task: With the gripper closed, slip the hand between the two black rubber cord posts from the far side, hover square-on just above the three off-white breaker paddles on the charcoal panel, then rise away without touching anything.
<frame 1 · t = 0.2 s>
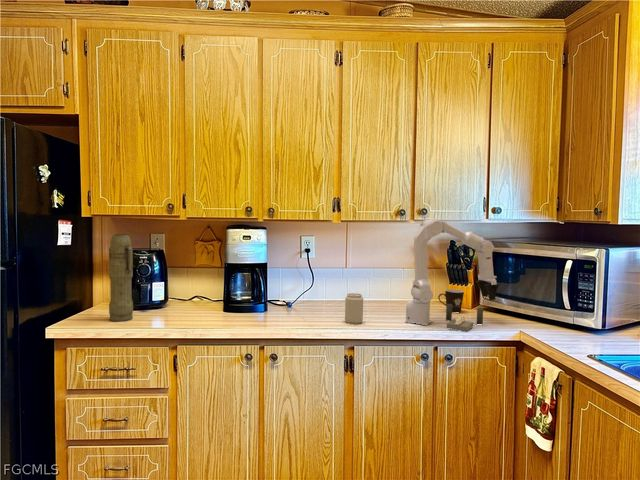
hand: (488, 298, 191), 10 cm above the worktop, tool pointing down, fingers open, 7 cm apart
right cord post: (479, 324, 185), on the worktop
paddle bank: (460, 320, 179), point 3 cm above the worktop, hinge at 0.0°
coffee mug: (450, 311, 210), on the worktop
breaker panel: (459, 327, 180), on the worktop
can: (353, 322, 185), on the worktop
thermos: (121, 319, 181), on the worktop
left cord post: (448, 320, 192), on the worktop
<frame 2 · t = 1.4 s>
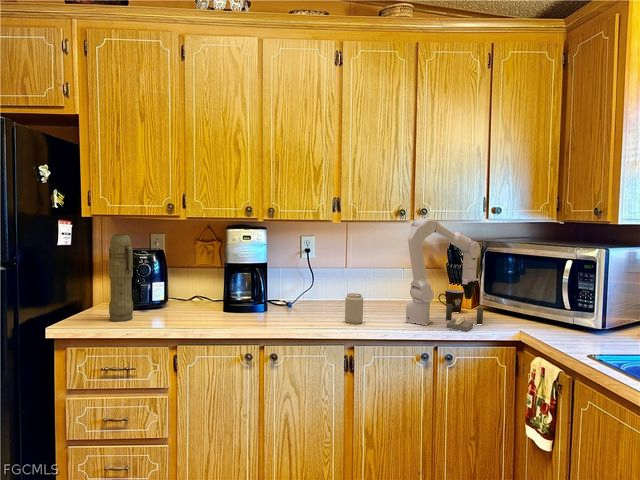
hand: (468, 298, 193), 9 cm above the worktop, tool pointing down, fingers closed
nothing on the worktop moved.
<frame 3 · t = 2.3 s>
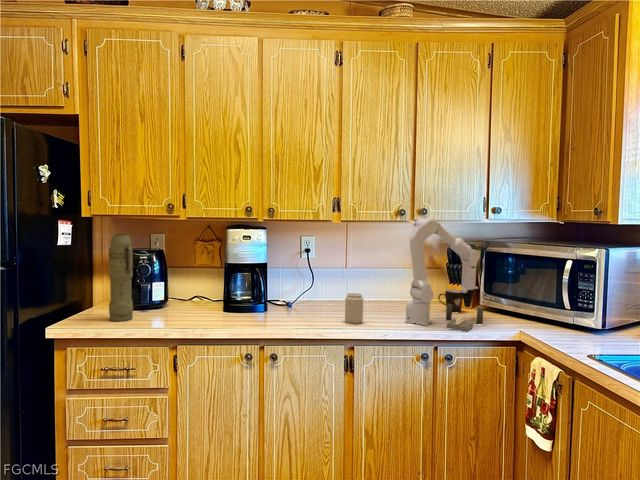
hand: (467, 306, 193), 6 cm above the worktop, tool pointing down, fingers closed
nothing on the worktop moved.
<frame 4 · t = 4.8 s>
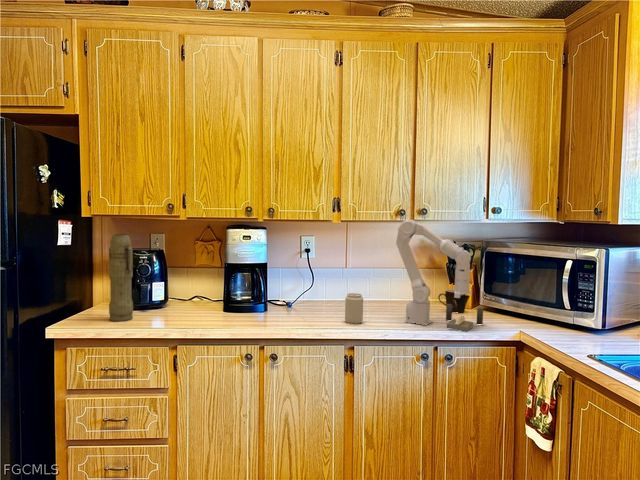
hand: (460, 312, 180), 6 cm above the worktop, tool pointing down, fingers closed
nothing on the worktop moved.
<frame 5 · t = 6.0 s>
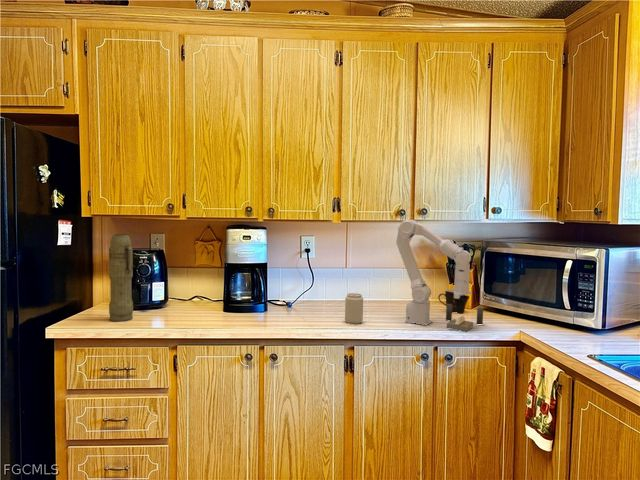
hand: (460, 313, 179), 6 cm above the worktop, tool pointing down, fingers closed
nothing on the worktop moved.
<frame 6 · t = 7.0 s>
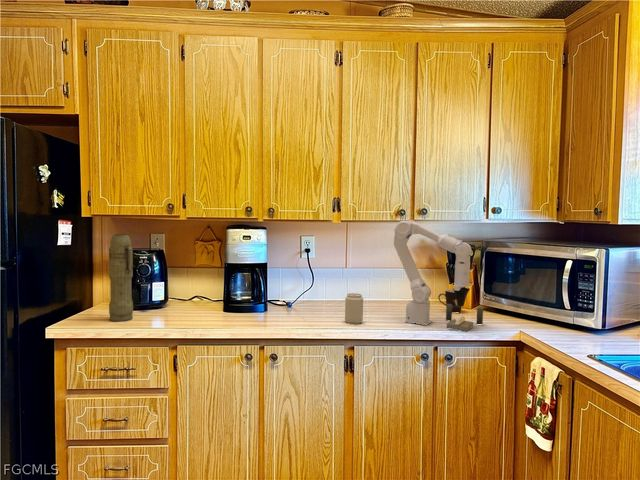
hand: (460, 305, 179), 9 cm above the worktop, tool pointing down, fingers closed
nothing on the worktop moved.
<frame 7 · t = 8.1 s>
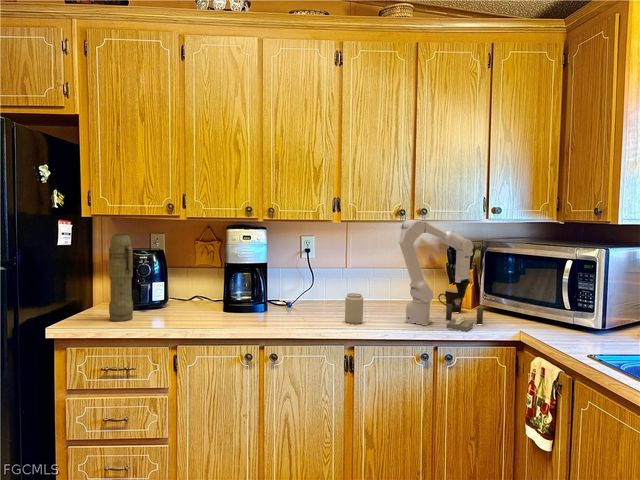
hand: (461, 297, 191), 10 cm above the worktop, tool pointing down, fingers closed
nothing on the worktop moved.
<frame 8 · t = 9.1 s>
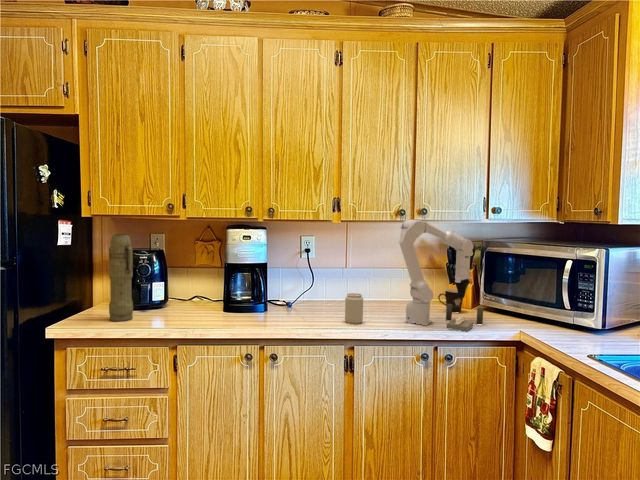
hand: (461, 297, 191), 10 cm above the worktop, tool pointing down, fingers closed
nothing on the worktop moved.
at the end: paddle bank at +0° (first picture: +0°); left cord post moved 0.0 cm from its start; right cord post moved 0.0 cm from its start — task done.
